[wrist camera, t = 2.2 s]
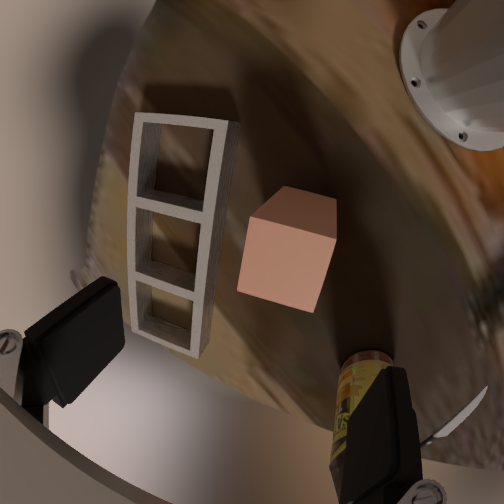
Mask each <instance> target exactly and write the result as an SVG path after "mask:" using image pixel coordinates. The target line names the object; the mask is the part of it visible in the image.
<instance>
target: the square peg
mask: <svg viewBox="0 0 504 504" xmlns="http://www.w3.org/2000/svg"><path fill="white" fill-rule="evenodd" d="M336 240H337V200H336V199H334V198H330V197H327V196H323V195H319V194H315V193H311V192H308V191H304V190H300V189H296V188H292V187H288V186H283V187H282V188H281V189H280V190H279V191H278V192H276V193H275V194H274V195H273V196H272V197H271V198H270V199H269V200H268V201H267V202H265V203H264V204H263V205H262V206H261V207H260V208H259V209H258V210H257V211H256V212H254V213H253V214H252V215H251V216H250V220H249V226H248V231H247V237H246V243H245V248H244V254H243V259H242V265H241V271H240V276H239V282H238V288H237V291H240V292H243V293H246V294H250V295H253V296H256V297H260V298H263V299H266V300H270V301H273V302H277V303H280V304H283V305H287V306H290V307H294V308H297V309H301V310H304V311H308V312H312V313H313V311H314V308H315V306H316V303H317V300H318V297H319V294H320V291H321V288H322V285H323V282H324V279H325V276H326V272H327V269H328V266H329V263H330V260H331V256H332V253H333V250H334V247H335V243H336Z"/></svg>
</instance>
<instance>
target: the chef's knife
mask: <svg viewBox="0 0 504 504" xmlns="http://www.w3.org/2000/svg"><path fill="white" fill-rule="evenodd" d="M487 387H488V386H486V387H485V388H484V389H483V390H482V391H481V392H480V393H479V394H478V395H477V396H476V397H475V398H474V399H473V400H472V401H471V402H470V403H469V404H467V405H466V406H465V407H464V408H463V409H462V410H461V411H460V412H459V413H458V414H457V415H456V416H454V417H453V418H452V419H451V420H450V421H449V422H447V423H446V424H445V425H444V426H443V427H442V428H440V429H439V430H438V431H437V432H435V433H434V434H433V435H432V436H431V437H429V438H428V439H427V440H426V441H424V442H423V443H422V444H420V450H421V449H423V448H424V447H425V446H427V445H428V444H430V443H431V442H432V441H434V440H435V439H437V438H438V437H444V436H447V435H448V434H449V433H450V432H451V431H453V430H454V429H455V428H456V427H457V426H458V425H459V424H460V423H461V422H462V421H463V420H464V419H465V418H466V417H467V416H468V415H469V414H470V413H471V412H472V411H473V410H474V409H475V408H476V407H477V405H478V404H479V403H480V401H481V400H482V398H483V396H484V394H485V392H486V390H487Z"/></svg>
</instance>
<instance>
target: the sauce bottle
mask: <svg viewBox="0 0 504 504" xmlns="http://www.w3.org/2000/svg"><path fill="white" fill-rule="evenodd" d="M388 366H394V363H393V361H392V359H391V358H390V357H389V356H388V355H387V354H385V353H384V352H381V351H377V350H368V351H361V352H357V353H355V354H354V355H352V356H350V357H349V358H348V359H347V360H346V361H345V363H344V364H343V366H342V368H341V373H340V376H339V380H338V393H337V404H336V413H335V423H334V433H333V444H332V450H331V458H330V466H329V468H330V471H331V474H332V478H333V482H334V486H335V489H336V493H337V496H338V501H340V494H341V486H342V478H343V469H344V459H345V448H346V435H347V423H348V419H349V417H350V415H351V414H352V412H353V411H354V410H355V408H356V407H357V405H358V404H359V402H360V401H361V399H362V398H363V396H364V395H365V393H366V392H367V390H368V389H369V387H370V386H371V384H372V383H373V381H374V380H375V378H376V376H377V375H378V373H379V372H380V370H381V369H386V368H387V367H388Z"/></svg>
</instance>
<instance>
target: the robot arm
mask: <svg viewBox="0 0 504 504" xmlns="http://www.w3.org/2000/svg"><path fill="white" fill-rule="evenodd" d="M418 26H420V27H421V28H422V29H421V28H419V27H418ZM399 66H400V72H401V76H402V80H403V83H404V85H405V88H406V90H407V93H408V95H409V97H410V99H411V100H412V102H413V104H414V106H415V107H416V109H417V110H418V112H419V113H420V114H421V116H422V117H423V118H424V119H425V121H426V122H427V123H428V124H429V125H430V126H431V127H432V128H433V129H434V130H435V131H436V132H437V133H439V134H440V135H442V136H443V137H444V138H446V139H447V140H448V141H450V142H452V143H454V144H456V145H458V146H460V147H464V148H468V149H471V150H478V151H492V150H495V149H498V148H502V147H503V146H504V0H456V1H455V3H454V4H453V5H452V6H451V7H450V8H449V9H447V8H440V9H432V10H428V11H425V12H423V13H421V14H420V15H418V16H416V17H415V18H414V19H413V20H412V21H411V23H410V24H409V25H408V26H407V28H406V30H405V31H404V33H403V36H402V39H401V42H400V48H399ZM411 81H413V82H415V83H416V87H414V86H413V85H412V84H411ZM459 133H460V134H461V139H460V138H459ZM24 333H25V336H26V337H25V338H22V335H21V334H20V333H19V332H18V331H15V330H12V329H6V330H2V331H0V504H172V503H170V502H167V501H165V500H163V499H160V498H158V497H156V496H154V495H152V494H150V493H148V492H146V491H144V490H141V489H140V488H138V487H136V486H134V485H132V484H130V483H128V482H126V481H124V480H123V479H121V478H119V477H117V476H115V475H114V474H112V473H111V472H109V471H107V470H106V469H103V468H102V467H101V466H99V465H98V464H96V463H94V462H93V461H91V460H90V459H88V458H87V457H85V456H84V455H82V454H81V453H79V452H78V451H76V450H75V449H74V448H72V447H71V446H69V445H68V444H66V443H65V442H64V441H63V440H61V439H60V438H59V437H57V436H56V435H55V434H53V433H52V432H51V431H50V430H49V422H48V421H49V402H50V400H52V399H53V401H54V402H55V403H57V404H58V405H59V406H61V407H62V408H64V407H65V406H66V405H67V404H70V403H72V402H73V401H74V400H75V399H76V398H77V397H78V396H79V395H80V394H81V392H83V391H84V390H85V388H86V387H87V386H88V385H89V384H90V383H91V382H92V381H93V380H94V379H95V378H96V377H97V376H98V374H99V373H100V372H101V371H102V370H103V369H104V368H105V367H106V366H107V365H108V364H109V363H110V362H111V361H112V360H113V359H114V357H115V356H116V355H117V354H118V353H119V352H120V351H121V350H122V349H123V347H124V344H125V337H124V328H123V318H122V307H121V294H120V288H119V287H118V284H117V282H116V281H114V280H111V279H109V278H107V277H104V276H102V277H100V278H98V279H97V280H95V281H94V282H92V283H91V284H89V285H88V286H86V287H85V288H84V289H82V290H81V291H79V292H78V293H76V294H75V295H74V296H72V297H71V298H69V299H68V300H66V301H65V302H64V303H62V304H61V305H59V306H58V307H57V308H55V309H54V310H53V311H51V312H50V313H48V314H47V315H46V316H44V317H43V318H42V319H40V320H39V321H38V322H36V323H35V324H34V325H32V326H31V327H30V328H28V329H27V330H26V331H25V332H24ZM446 502H447V496H446V492H445V490H444V488H443V487H442V486H441V484H440V483H438V482H437V481H435V480H431V479H424V480H423V474H422V461H421V451H420V442H419V433H418V426H417V419H416V413H415V411H414V410H413V409H412V402H411V396H410V391H409V385H408V380H407V374H406V370H405V369H404V368H400V367H395V366H388V367H387V368H386V369H381V370H380V372H379V373H378V375H377V376H376V378H375V380H374V381H373V383H372V384H371V386H370V387H369V389H368V390H367V392H366V393H365V395H364V396H363V398H362V399H361V401H360V402H359V404H358V405H357V407H356V408H355V410H354V411H353V412H352V414H351V415H350V417H349V419H348V423H347V435H346V448H345V459H344V469H343V478H342V486H341V494H340V501H339V504H446Z"/></svg>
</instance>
